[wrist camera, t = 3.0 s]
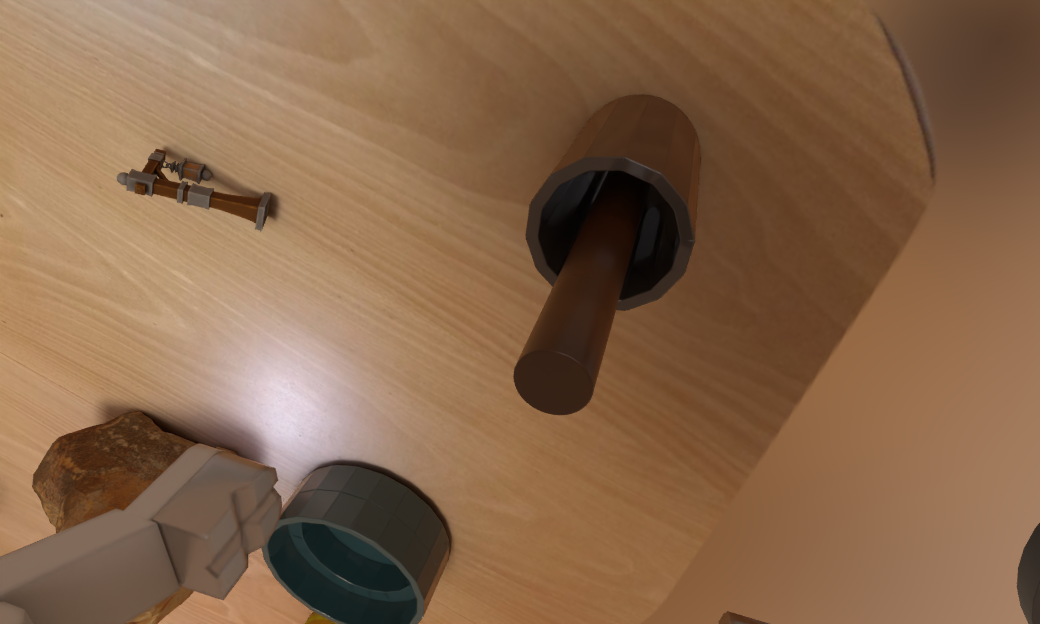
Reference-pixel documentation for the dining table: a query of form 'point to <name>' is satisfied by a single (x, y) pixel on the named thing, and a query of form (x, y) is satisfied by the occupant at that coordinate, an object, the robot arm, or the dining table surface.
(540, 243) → the holder
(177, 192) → the wooden lamp post
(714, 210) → the dining table surface
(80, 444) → the orange rock
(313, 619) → the mug
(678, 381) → the dining table surface
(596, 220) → the stick
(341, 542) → the bowl
